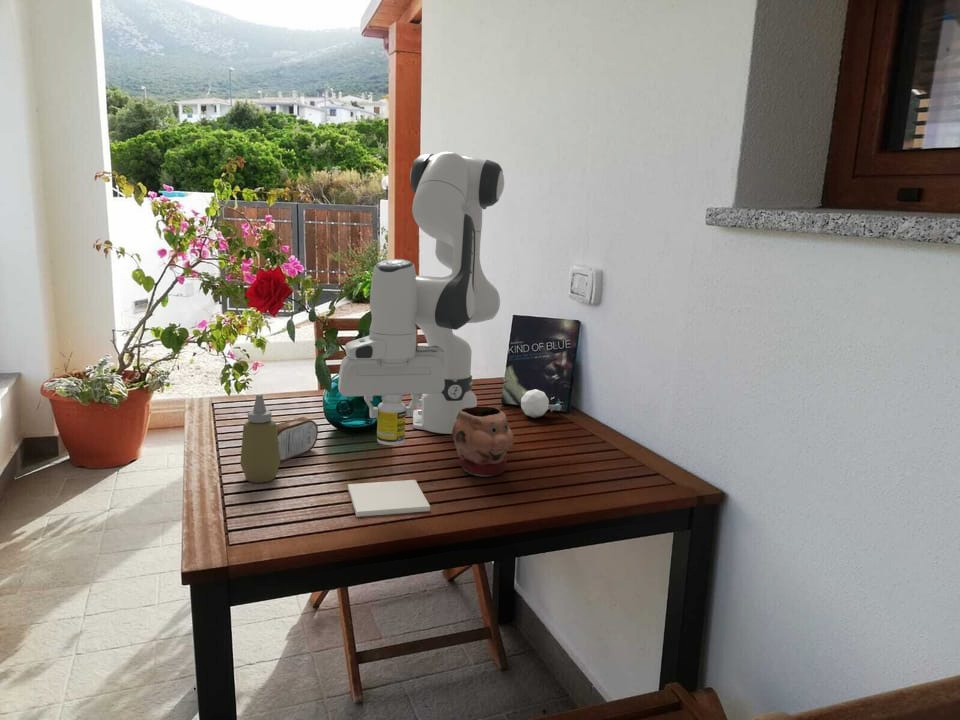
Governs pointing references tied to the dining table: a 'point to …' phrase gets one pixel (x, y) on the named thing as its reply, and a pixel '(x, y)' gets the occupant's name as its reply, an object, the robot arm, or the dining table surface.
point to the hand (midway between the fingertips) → (391, 416)
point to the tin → (296, 437)
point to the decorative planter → (482, 440)
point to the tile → (387, 498)
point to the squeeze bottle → (260, 445)
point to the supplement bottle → (391, 420)
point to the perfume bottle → (536, 403)
